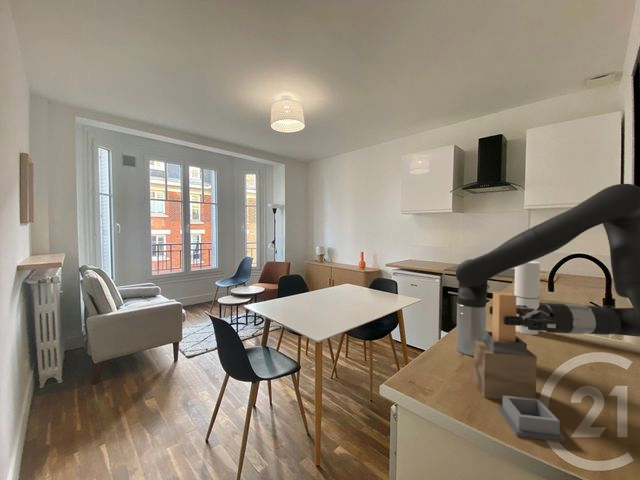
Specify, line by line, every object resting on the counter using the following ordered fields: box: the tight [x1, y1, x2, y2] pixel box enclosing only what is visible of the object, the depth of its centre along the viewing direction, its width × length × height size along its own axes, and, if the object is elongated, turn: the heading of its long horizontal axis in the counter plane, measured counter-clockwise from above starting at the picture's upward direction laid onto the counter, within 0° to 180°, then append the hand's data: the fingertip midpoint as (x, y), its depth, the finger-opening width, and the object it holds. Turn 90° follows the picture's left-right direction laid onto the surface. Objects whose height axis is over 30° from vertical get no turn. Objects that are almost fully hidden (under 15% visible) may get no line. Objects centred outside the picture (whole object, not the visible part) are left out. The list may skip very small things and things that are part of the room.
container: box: [513, 260, 541, 336], centre depth 117 cm, size 9×9×30 cm
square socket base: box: [472, 330, 538, 400], centre depth 74 cm, size 8×12×15 cm, turn 79°
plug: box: [491, 291, 517, 342], centre depth 74 cm, size 4×4×15 cm
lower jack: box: [497, 396, 566, 443], centre depth 62 cm, size 9×9×4 cm
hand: (496, 315), depth 74 cm, fingers open, 8 cm apart
